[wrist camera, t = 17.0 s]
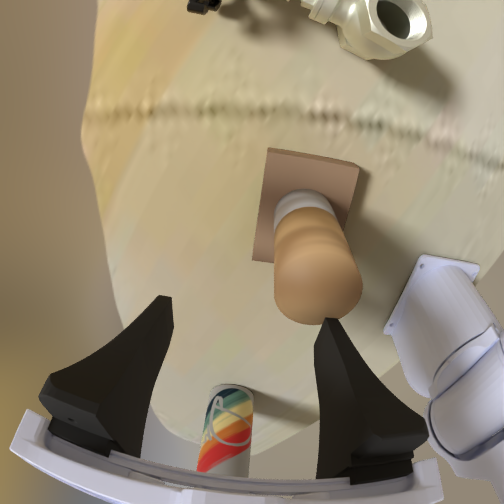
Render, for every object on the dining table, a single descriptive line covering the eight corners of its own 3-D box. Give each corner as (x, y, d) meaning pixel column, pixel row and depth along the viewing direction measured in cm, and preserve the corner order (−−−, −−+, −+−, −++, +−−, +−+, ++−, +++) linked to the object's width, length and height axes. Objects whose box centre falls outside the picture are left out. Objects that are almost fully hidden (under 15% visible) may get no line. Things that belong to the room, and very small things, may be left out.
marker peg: (324, 245, 21) (346, 327, 14) (269, 238, 20) (267, 320, 14) (338, 194, 18) (374, 261, 12) (278, 184, 18) (282, 249, 12)
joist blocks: (327, 259, 23) (331, 270, 22) (253, 249, 23) (252, 260, 22) (382, -102, 5) (387, -110, 4) (306, -121, 5) (307, -130, 4)
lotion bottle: (235, 378, 32) (216, 541, 15) (263, 398, 35) (254, 543, 18) (201, 389, 34) (174, 533, 17) (229, 407, 37) (213, 539, 20)
